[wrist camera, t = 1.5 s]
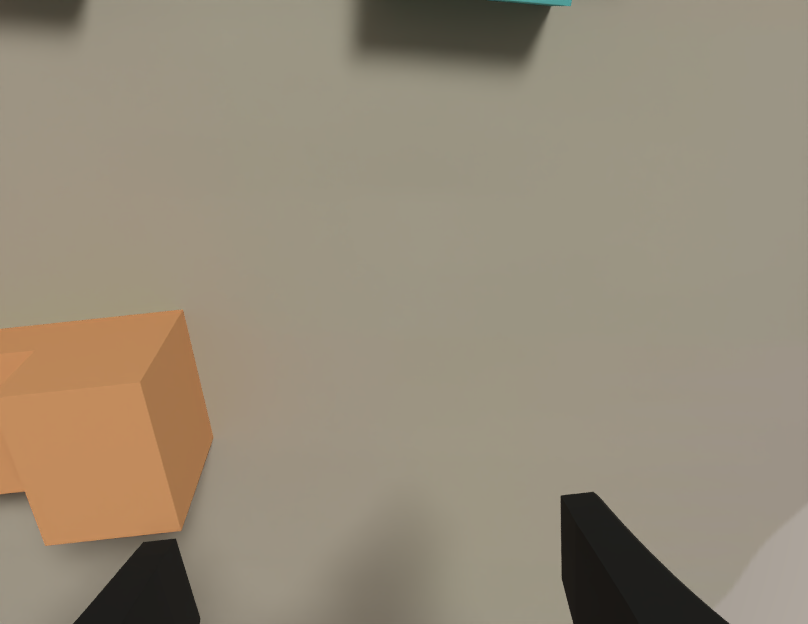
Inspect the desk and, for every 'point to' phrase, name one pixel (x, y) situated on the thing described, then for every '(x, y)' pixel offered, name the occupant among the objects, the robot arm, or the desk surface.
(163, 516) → the doorstop wedge
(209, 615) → the desk surface
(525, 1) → the alien figure
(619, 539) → the robot arm
